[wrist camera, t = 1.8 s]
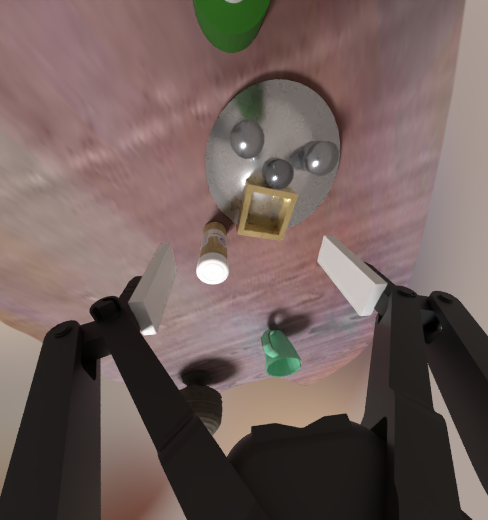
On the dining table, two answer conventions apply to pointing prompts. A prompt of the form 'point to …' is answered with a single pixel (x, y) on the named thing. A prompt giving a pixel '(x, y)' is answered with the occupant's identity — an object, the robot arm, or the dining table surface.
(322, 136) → the carrier
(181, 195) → the dining table surface
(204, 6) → the candle
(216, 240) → the sprinkles bottle
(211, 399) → the pot
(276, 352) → the mug
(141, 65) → the dining table surface
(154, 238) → the dining table surface
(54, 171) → the dining table surface
